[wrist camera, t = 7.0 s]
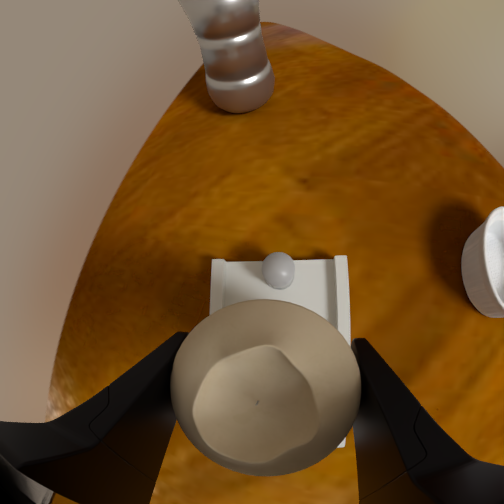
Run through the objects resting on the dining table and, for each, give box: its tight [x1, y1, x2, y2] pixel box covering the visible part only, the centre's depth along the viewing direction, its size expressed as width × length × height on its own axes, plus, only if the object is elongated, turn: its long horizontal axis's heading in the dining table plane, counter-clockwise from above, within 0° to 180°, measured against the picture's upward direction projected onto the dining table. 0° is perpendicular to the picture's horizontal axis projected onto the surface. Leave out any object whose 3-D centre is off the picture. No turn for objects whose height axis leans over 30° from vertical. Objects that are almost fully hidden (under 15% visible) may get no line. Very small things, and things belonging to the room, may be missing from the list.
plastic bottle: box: [178, 0, 275, 113], centre depth 16 cm, size 6×7×20 cm
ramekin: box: [461, 207, 504, 318], centre depth 14 cm, size 9×9×4 cm
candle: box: [170, 299, 361, 476], centre depth 10 cm, size 6×6×10 cm
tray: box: [210, 252, 350, 448], centre depth 16 cm, size 13×9×3 cm
